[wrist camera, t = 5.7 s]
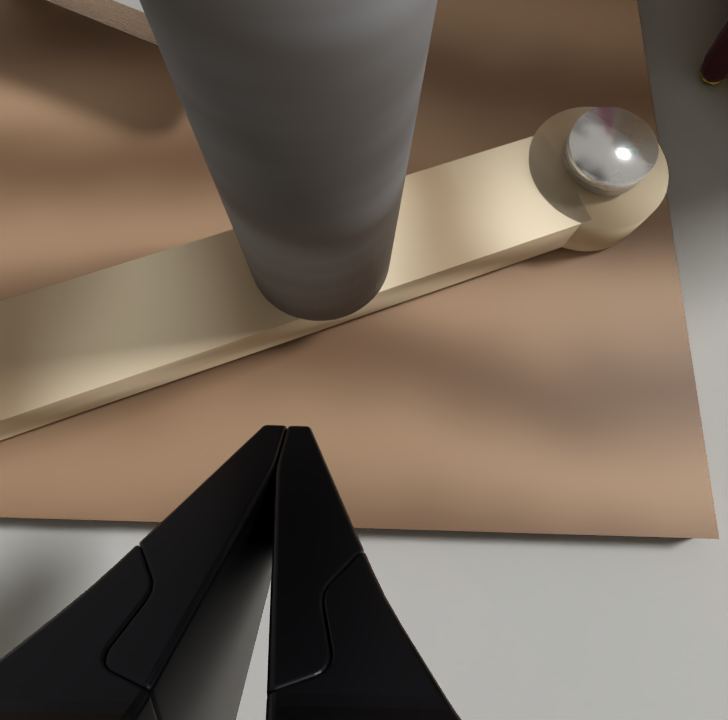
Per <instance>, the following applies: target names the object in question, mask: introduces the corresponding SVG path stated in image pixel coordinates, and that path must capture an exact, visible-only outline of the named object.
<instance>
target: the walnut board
mask: <svg viewBox="0 0 728 720" xmlns="http://www.w3.org/2000/svg"><path fill="white" fill-rule="evenodd" d="M577 107H617V108H622V109H625V110H628V111H630V112H632V113H634V114H636V115H638V116H639V117H640V118H642V119H643V120H644V121H645V122H646V123H647V124H648V125H649V126H650V127H651V129H652V130H653V132H654V134H655V136H656V138H657V142H658V135H657V128H656V122H655V115H654V109H653V102H652V96H651V89H650V82H649V76H648V69H647V63H646V56H645V50H644V43H643V37H642V30H641V23H640V17H639V10H638V4H637V0H437V5H436V11H435V16H434V22H433V27H432V33H431V39H430V44H429V50H428V55H427V61H426V66H425V72H424V77H423V83H422V88H421V94H420V99H419V105H418V110H417V116H416V122H415V127H414V133H413V138H412V144H411V149H410V155H409V160H408V166H407V171H406V175H409V174H412V173H416V172H419V171H422V170H425V169H428V168H432V167H435V166H438V165H441V164H445V163H448V162H451V161H454V160H457V159H461V158H464V157H467V156H470V155H474V154H477V153H480V152H483V151H486V150H490V149H493V148H496V147H499V146H503V145H506V144H509V143H512V142H515V141H519V140H522V139H525V138H528V137H532V136H534V135H535V133H536V131H537V130H538V129H539V127H540V126H541V125H542V124H543V123H544V122H545V121H546V120H548V119H549V118H550V117H552V116H554V115H555V114H557V113H559V112H562V111H565V110H568V109H572V108H577ZM658 144H659V142H658ZM232 229H233V227H232V225H231V222H230V220H229V217H228V215H227V213H226V210H225V208H224V205H223V203H222V200H221V198H220V195H219V193H218V191H217V188H216V186H215V183H214V181H213V178H212V176H211V174H210V171H209V169H208V166H207V164H206V161H205V159H204V157H203V154H202V152H201V149H200V147H199V144H198V142H197V139H196V137H195V135H194V132H193V130H192V127H191V125H190V122H189V120H188V118H187V115H186V113H185V110H184V108H183V105H182V103H181V101H180V98H179V96H178V93H177V91H176V88H175V86H174V83H173V81H172V79H171V76H170V74H169V71H168V69H167V66H166V64H165V62H164V59H163V57H162V54H161V52H160V49H159V47H158V45H156V44H153V43H151V42H148V41H146V40H143V39H141V38H138V37H136V36H133V35H131V34H128V33H126V32H123V31H121V30H118V29H116V28H113V27H111V26H108V25H106V24H103V23H101V22H98V21H96V20H93V19H91V18H88V17H86V16H83V15H81V14H79V13H76V12H74V11H71V10H69V9H66V8H64V7H61V6H59V5H56V4H54V3H51V2H49V1H46V0H0V301H3V300H6V299H9V298H13V297H16V296H19V295H22V294H26V293H29V292H32V291H35V290H38V289H42V288H45V287H48V286H51V285H55V284H58V283H61V282H64V281H67V280H71V279H74V278H77V277H80V276H84V275H87V274H90V273H93V272H97V271H100V270H103V269H106V268H109V267H113V266H116V265H119V264H122V263H126V262H129V261H132V260H135V259H138V258H142V257H145V256H148V255H151V254H155V253H158V252H161V251H164V250H167V249H171V248H174V247H177V246H180V245H184V244H187V243H190V242H193V241H196V240H200V239H203V238H206V237H209V236H213V235H216V234H219V233H222V232H225V231H229V230H232ZM265 425H284V426H286V428H288V427H289V426H308V427H310V428H311V430H312V432H313V434H314V436H315V439H316V441H317V443H318V446H319V448H320V450H321V453H322V455H323V457H324V460H325V462H326V464H327V467H328V469H329V471H330V473H331V476H332V478H333V480H334V483H335V485H336V487H337V490H338V492H339V494H340V497H341V499H342V501H343V503H344V506H345V508H346V510H347V513H348V515H349V517H350V520H351V522H352V524H353V527H354V528H375V529H408V530H441V531H474V532H508V533H541V534H574V535H607V536H640V537H674V538H707V539H719V535H718V529H717V522H716V515H715V509H714V502H713V496H712V489H711V483H710V476H709V470H708V463H707V456H706V450H705V443H704V437H703V430H702V424H701V417H700V411H699V404H698V397H697V391H696V384H695V378H694V371H693V365H692V358H691V351H690V345H689V338H688V332H687V325H686V319H685V312H684V306H683V299H682V292H681V286H680V279H679V273H678V266H677V260H676V253H675V246H674V240H673V233H672V227H671V220H670V214H669V207H668V201H667V194H665V196H664V199H663V200H662V202H661V203H660V205H659V206H658V207H657V209H656V210H655V211H654V212H653V213H652V214H651V215H650V216H649V217H648V218H647V219H645V220H644V221H643V222H642V223H641V224H640V225H639V226H638V227H637V228H636V229H635V230H634V231H633V232H632V233H631V234H630V235H629V236H628V237H626V238H625V239H624V240H623V241H621V242H620V243H618V244H616V245H614V246H612V247H609V248H606V249H603V250H597V251H575V250H571V249H566V248H563V247H561V248H558V249H555V250H552V251H549V252H546V253H543V254H540V255H538V256H535V257H532V258H529V259H526V260H523V261H520V262H517V263H514V264H511V265H508V266H506V267H503V268H500V269H497V270H494V271H491V272H488V273H485V274H482V275H479V276H476V277H474V278H471V279H468V280H465V281H462V282H459V283H456V284H453V285H450V286H447V287H445V288H442V289H439V290H436V291H433V292H430V293H427V294H424V295H421V296H418V297H415V298H413V299H410V300H407V301H404V302H401V303H398V304H395V305H392V306H389V307H386V308H384V309H381V310H378V311H375V312H372V313H369V314H366V315H363V316H360V317H357V318H354V319H352V320H349V321H346V322H343V323H340V324H337V325H334V326H331V327H328V328H325V329H322V330H320V331H317V332H314V333H311V334H308V335H305V336H302V337H299V338H296V339H293V340H291V341H288V342H285V343H282V344H279V345H276V346H273V347H270V348H267V349H264V350H261V351H259V352H256V353H253V354H250V355H247V356H244V357H241V358H238V359H235V360H232V361H229V362H227V363H224V364H221V365H218V366H215V367H212V368H209V369H206V370H203V371H200V372H198V373H195V374H192V375H189V376H186V377H183V378H180V379H177V380H174V381H171V382H168V383H166V384H163V385H160V386H157V387H154V388H151V389H148V390H145V391H142V392H139V393H137V394H134V395H131V396H128V397H125V398H122V399H119V400H116V401H113V402H110V403H107V404H105V405H102V406H99V407H96V408H93V409H90V410H87V411H84V412H81V413H78V414H75V415H73V416H70V417H67V418H64V419H61V420H58V421H55V422H52V423H49V424H46V425H44V426H41V427H38V428H35V429H32V430H29V431H26V432H23V433H20V434H17V435H14V436H12V437H9V438H6V439H3V440H0V517H9V518H43V519H76V520H109V521H142V522H162V521H163V520H164V519H165V518H166V517H167V516H168V515H169V514H170V513H171V512H173V511H174V510H175V509H176V508H177V507H178V506H179V505H180V504H181V503H182V502H183V501H184V500H185V499H186V498H187V497H188V496H190V495H191V494H192V493H193V492H194V491H195V490H196V489H197V488H198V487H199V486H200V485H201V484H202V483H203V482H204V481H205V480H206V479H208V478H209V477H210V476H211V475H212V474H213V473H214V472H215V471H216V470H217V469H218V468H219V467H220V466H221V465H222V464H223V463H225V462H226V461H227V460H228V459H229V458H230V457H231V456H232V455H233V454H234V453H235V452H236V451H237V450H238V449H239V448H240V447H242V446H243V445H244V444H245V443H246V442H247V441H248V440H249V439H250V438H251V437H252V436H253V435H254V434H255V433H256V432H257V431H258V430H260V429H261V428H262V427H263V426H265Z"/></svg>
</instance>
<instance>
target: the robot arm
mask: <svg viewBox="0 0 728 720" xmlns="http://www.w3.org/2000/svg"><path fill="white" fill-rule="evenodd" d="M139 545H140V546H135V547H134V548H133V549H132V550H131V551H130V552H129V553H128V554H127V555H126V556H124V557H123V558H122V559H121V560H120V561H119V562H118V563H117V564H116V565H115V566H114V567H113V568H111V569H110V570H109V571H108V572H107V573H106V574H105V575H104V576H102V577H101V578H100V579H99V580H98V581H97V582H96V583H95V584H94V585H92V586H91V587H90V588H89V589H88V590H87V591H85V592H84V593H83V594H82V595H80V596H79V597H78V598H77V599H76V600H74V601H73V602H72V603H71V604H69V605H68V606H67V607H66V608H65V609H63V610H62V611H61V612H60V613H59V614H57V615H56V616H55V617H54V618H52V619H51V620H50V621H48V622H47V623H46V624H45V625H43V626H42V627H41V628H40V629H38V630H37V631H36V632H35V633H33V634H32V635H31V636H29V637H28V638H27V639H26V640H24V641H23V642H22V643H21V644H19V645H18V646H17V647H15V648H14V649H13V650H12V651H10V652H9V653H8V654H7V655H5V656H4V657H3V658H2V659H0V720H236V716H237V712H238V708H239V704H240V700H241V696H242V692H243V688H244V684H245V680H246V677H247V673H248V669H249V665H250V661H251V657H252V653H253V649H254V645H255V641H256V637H257V633H258V629H259V625H260V621H261V617H262V613H263V609H264V605H265V601H266V597H267V593H268V589H269V585H270V581H271V600H270V627H269V653H268V680H267V707H266V720H461V718H460V717H459V716H458V714H457V713H456V711H455V710H454V708H453V707H452V705H451V704H450V702H449V701H448V699H447V698H446V696H445V695H444V693H443V691H442V690H441V688H440V686H439V685H438V683H437V682H436V680H435V678H434V677H433V675H432V673H431V672H430V670H429V669H428V667H427V665H426V664H425V662H424V661H423V659H422V657H421V656H420V654H419V652H418V651H417V649H416V648H415V646H414V644H413V643H412V641H411V640H410V638H409V636H408V635H407V633H406V631H405V630H404V628H403V627H402V625H401V623H400V621H399V620H398V618H397V616H396V614H395V613H394V611H393V609H392V607H391V606H390V604H389V602H388V600H387V599H386V597H385V595H384V593H383V591H382V589H381V587H380V584H379V582H378V580H377V578H376V576H375V574H374V572H373V570H372V568H371V565H370V563H369V561H368V558H367V556H366V554H365V553H364V550H363V547H362V545H361V543H360V540H359V538H358V536H357V534H356V531H355V529H354V527H353V524H352V522H351V520H350V517H349V515H348V513H347V510H346V508H345V506H344V503H343V501H342V499H341V497H340V494H339V492H338V490H337V487H336V485H335V483H334V480H333V478H332V476H331V473H330V471H329V469H328V467H327V464H326V462H325V460H324V457H323V455H322V453H321V450H320V448H319V446H318V443H317V441H316V439H315V436H314V434H313V432H312V430H311V428H310V427H308V426H289V427H288V428H286V426H284V425H265V426H263V427H262V428H261V429H260V430H258V431H257V432H256V433H255V434H254V435H253V436H252V437H251V438H250V439H249V440H248V441H247V442H246V443H245V444H244V445H243V446H242V447H240V448H239V449H238V450H237V451H236V452H235V453H234V454H233V455H232V456H231V457H230V458H229V459H228V460H227V461H226V462H225V463H223V464H222V465H221V466H220V467H219V468H218V469H217V470H216V471H215V472H214V473H213V474H212V475H211V476H210V477H209V478H208V479H206V480H205V481H204V482H203V483H202V484H201V485H200V486H199V487H198V488H197V489H196V490H195V491H194V492H193V493H192V494H191V495H190V496H188V497H187V498H186V499H185V500H184V501H183V502H182V503H181V504H180V505H179V506H178V507H177V508H176V509H175V510H174V511H173V512H171V513H170V514H169V515H168V516H167V517H166V518H165V519H164V520H163V521H162V522H161V523H160V524H159V525H158V526H157V527H156V528H154V529H153V530H152V531H151V532H150V533H149V534H148V535H147V536H146V537H145V538H144V539H143V540H142V541H141V542H140V544H139Z"/></svg>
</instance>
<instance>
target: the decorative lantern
mask: <svg viewBox="0 0 728 720" xmlns="http://www.w3.org/2000/svg"><path fill="white" fill-rule="evenodd" d="M700 72H701V75H702V78H703V81H705V82H708V83H710V84H717V83H719V82H721V81H723V80H726V79H728V22H727V23H726V25H725V26H724V28H723V30H722V31H721V33H720V34H719V36H718V37H717V39H716V40H715V42H714V44H713V45H712V47H711V48H710V50H709V51H708V53H707V55H706V56H705V59H704V61H703V64H702V67H701V69H700Z"/></svg>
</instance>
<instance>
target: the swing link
mask: <svg viewBox="0 0 728 720" xmlns="http://www.w3.org/2000/svg"><path fill="white" fill-rule="evenodd" d="M139 1H140V3H141V6H142V8H143V10H144V13H145V15H146V18H147V20H148V23H149V25H150V27H151V30H152V32H153V35H154V37H155V40H156V42H157V45H158V47H159V49H160V52H161V54H162V57H163V59H164V62H165V64H166V66H167V69H168V71H169V74H170V76H171V79H172V81H173V83H174V86H175V88H176V91H177V93H178V96H179V98H180V101H181V103H182V105H183V108H184V110H185V113H186V115H187V118H188V120H189V122H190V125H191V127H192V130H193V132H194V135H195V137H196V139H197V142H198V144H199V147H200V149H201V152H202V154H203V157H204V159H205V161H206V164H207V166H208V169H209V171H210V174H211V176H212V178H213V181H214V183H215V186H216V188H217V191H218V193H219V195H220V198H221V200H222V203H223V205H224V208H225V210H226V213H227V215H228V217H229V220H230V222H231V225H232V227H233V229H232V230H229V231H225V232H222V233H219V234H216V235H213V236H209V237H206V238H203V239H200V240H196V241H193V242H190V243H187V244H184V245H180V246H177V247H174V248H171V249H167V250H164V251H161V252H158V253H155V254H151V255H148V256H145V257H142V258H138V259H135V260H132V261H129V262H126V263H122V264H119V265H116V266H113V267H109V268H106V269H103V270H100V271H97V272H93V273H90V274H87V275H84V276H80V277H77V278H74V279H71V280H67V281H64V282H61V283H58V284H55V285H51V286H48V287H45V288H42V289H38V290H35V291H32V292H29V293H26V294H22V295H19V296H16V297H13V298H9V299H6V300H3V301H0V440H3V439H6V438H9V437H12V436H14V435H17V434H20V433H23V432H26V431H29V430H32V429H35V428H38V427H41V426H44V425H46V424H49V423H52V422H55V421H58V420H61V419H64V418H67V417H70V416H73V415H75V414H78V413H81V412H84V411H87V410H90V409H93V408H96V407H99V406H102V405H105V404H107V403H110V402H113V401H116V400H119V399H122V398H125V397H128V396H131V395H134V394H137V393H139V392H142V391H145V390H148V389H151V388H154V387H157V386H160V385H163V384H166V383H168V382H171V381H174V380H177V379H180V378H183V377H186V376H189V375H192V374H195V373H198V372H200V371H203V370H206V369H209V368H212V367H215V366H218V365H221V364H224V363H227V362H229V361H232V360H235V359H238V358H241V357H244V356H247V355H250V354H253V353H256V352H259V351H261V350H264V349H267V348H270V347H273V346H276V345H279V344H282V343H285V342H288V341H291V340H293V339H296V338H299V337H302V336H305V335H308V334H311V333H314V332H317V331H320V330H322V329H325V328H328V327H331V326H334V325H337V324H340V323H343V322H346V321H349V320H352V319H354V318H357V317H360V316H363V315H366V314H369V313H372V312H375V311H378V310H381V309H384V308H386V307H389V306H392V305H395V304H398V303H401V302H404V301H407V300H410V299H413V298H415V297H418V296H421V295H424V294H427V293H430V292H433V291H436V290H439V289H442V288H445V287H447V286H450V285H453V284H456V283H459V282H462V281H465V280H468V279H471V278H474V277H476V276H479V275H482V274H485V273H488V272H491V271H494V270H497V269H500V268H503V267H506V266H508V265H511V264H514V263H517V262H520V261H523V260H526V259H529V258H532V257H535V256H538V255H540V254H543V253H546V252H549V251H552V250H555V249H558V248H561V247H563V248H566V249H571V250H575V251H597V250H603V249H606V248H609V247H612V246H614V245H616V244H618V243H620V242H621V241H623V240H624V239H625V238H626V237H628V236H629V235H630V234H631V233H632V232H633V231H634V230H635V229H636V228H637V227H638V226H639V225H640V224H641V223H642V222H643V221H644V220H645V219H647V218H648V217H649V216H650V215H651V214H652V213H653V212H654V211H655V210H656V209H657V207H658V206H659V205H660V203H661V202H662V200H663V199H664V196H665V194H666V191H667V187H668V180H669V173H668V166H667V161H666V158H665V156H664V153H663V151H662V149H661V147H660V146H659V144H658V148H659V152H658V158H657V161H656V163H655V165H654V166H653V168H652V169H651V170H650V171H649V172H648V173H647V174H646V175H645V176H644V178H643V179H642V180H641V181H640V182H639V183H638V184H637V185H636V186H635V187H634V188H633V189H632V190H630V191H628V192H626V193H624V194H620V195H615V196H604V195H598V194H594V193H591V192H589V191H587V190H585V189H583V188H581V187H580V186H579V185H577V184H576V183H575V182H574V181H573V180H572V179H571V178H570V177H569V175H568V174H567V172H566V171H565V168H564V166H563V163H562V158H561V151H562V146H563V143H564V141H565V140H566V138H567V136H568V135H569V133H570V131H571V130H572V128H573V126H574V125H575V123H576V121H577V120H578V119H579V118H580V117H581V116H582V115H583V114H584V113H586V112H588V111H590V110H592V109H595V108H599V107H577V108H572V109H568V110H565V111H562V112H559V113H557V114H555V115H554V116H552V117H550V118H549V119H548V120H546V121H545V122H544V123H543V124H542V125H541V126H540V127H539V129H538V130H537V131H536V133H535V135H534V136H532V137H528V138H525V139H522V140H519V141H515V142H512V143H509V144H506V145H503V146H499V147H496V148H493V149H490V150H486V151H483V152H480V153H477V154H474V155H470V156H467V157H464V158H461V159H457V160H454V161H451V162H448V163H445V164H441V165H438V166H435V167H432V168H428V169H425V170H422V171H419V172H416V173H412V174H409V175H406V171H407V166H408V160H409V155H410V149H411V144H412V138H413V133H414V127H415V122H416V116H417V110H418V105H419V99H420V94H421V88H422V83H423V77H424V72H425V66H426V61H427V55H428V50H429V44H430V39H431V33H432V27H433V22H434V16H435V11H436V5H437V0H139Z"/></svg>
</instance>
